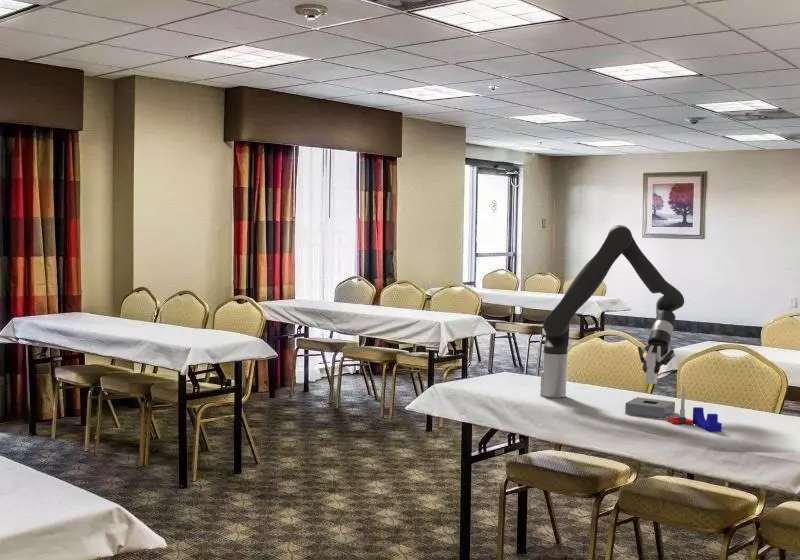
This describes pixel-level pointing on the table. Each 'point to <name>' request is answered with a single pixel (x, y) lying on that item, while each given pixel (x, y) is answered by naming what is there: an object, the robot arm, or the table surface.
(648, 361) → the light grey tall block
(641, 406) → the gray square socket block
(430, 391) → the table surface
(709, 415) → the cable clip
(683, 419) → the red grey spiked stand
